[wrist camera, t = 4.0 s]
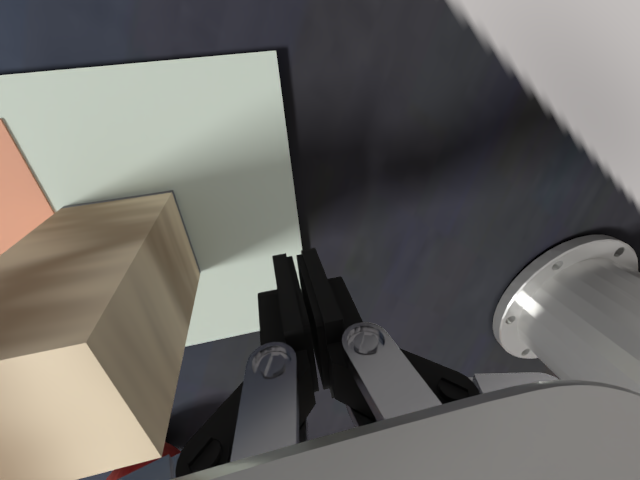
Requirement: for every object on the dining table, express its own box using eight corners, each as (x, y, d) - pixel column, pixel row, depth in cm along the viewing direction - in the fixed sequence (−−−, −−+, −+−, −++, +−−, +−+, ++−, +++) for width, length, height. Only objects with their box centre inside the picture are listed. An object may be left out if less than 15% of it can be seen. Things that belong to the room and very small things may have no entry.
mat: (275, 51, 14) (276, 50, 13) (310, 314, 22) (311, 320, 21) (-387, 110, 11) (-418, 112, 10) (-63, 393, 19) (-72, 403, 18)
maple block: (173, 190, 15) (85, 342, 7) (200, 271, 18) (162, 456, 9) (63, 206, 15) (-184, 398, 6) (108, 288, 17) (-25, 505, 9)
